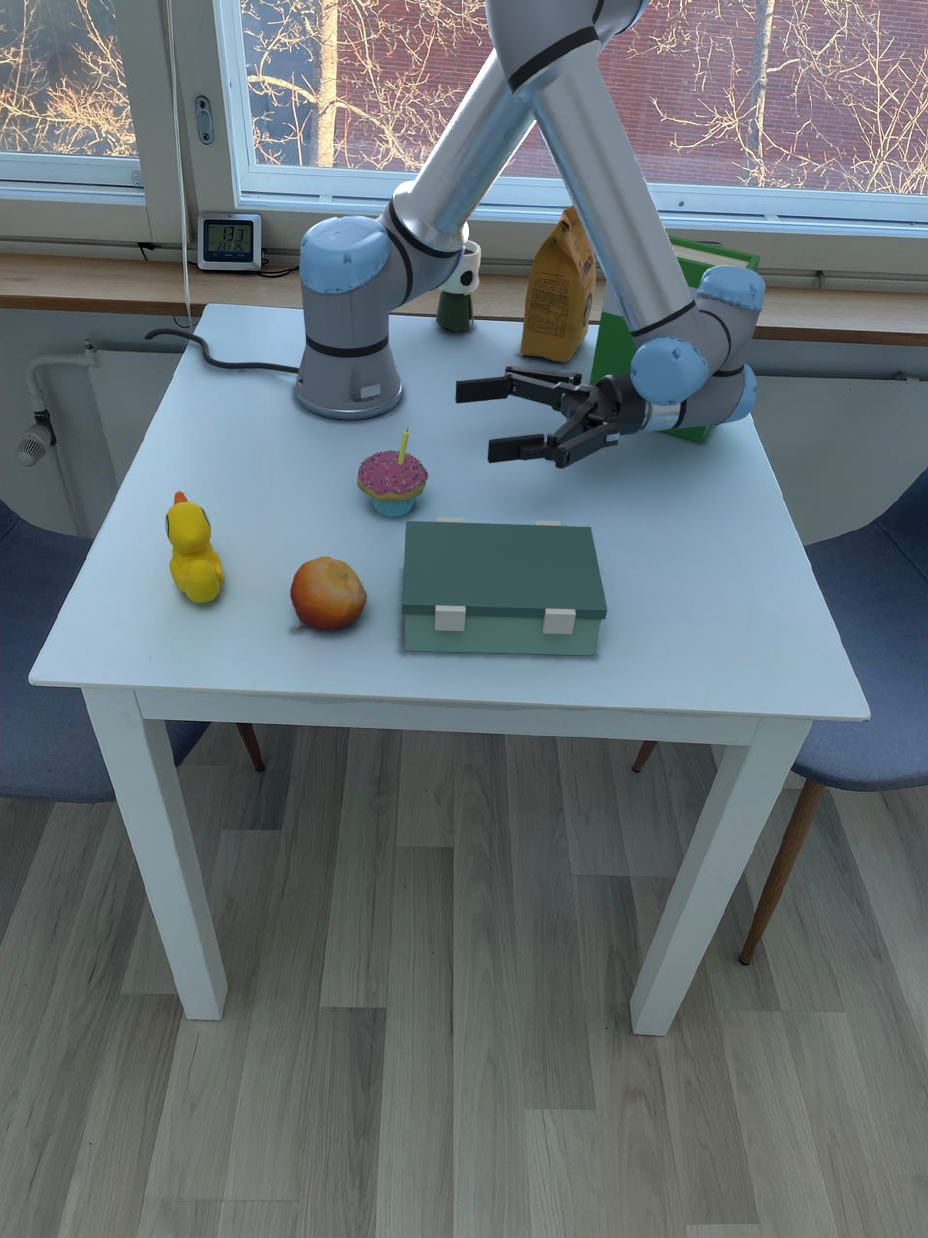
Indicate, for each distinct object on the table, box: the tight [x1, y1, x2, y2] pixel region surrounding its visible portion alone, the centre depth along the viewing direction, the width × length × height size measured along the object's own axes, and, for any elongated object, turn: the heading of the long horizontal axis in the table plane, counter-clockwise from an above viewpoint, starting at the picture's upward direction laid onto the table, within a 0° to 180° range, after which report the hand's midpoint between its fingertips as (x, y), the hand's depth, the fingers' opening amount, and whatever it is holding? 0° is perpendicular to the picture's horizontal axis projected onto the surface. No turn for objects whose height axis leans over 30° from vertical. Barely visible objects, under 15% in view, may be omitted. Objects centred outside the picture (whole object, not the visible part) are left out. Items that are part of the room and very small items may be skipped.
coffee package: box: [519, 204, 597, 363], centre depth 137 cm, size 10×12×22 cm
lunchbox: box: [401, 516, 608, 657], centre depth 96 cm, size 21×15×7 cm
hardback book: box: [588, 234, 762, 443], centre depth 122 cm, size 18×7×24 cm, turn 64°
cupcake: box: [356, 426, 429, 518], centre depth 107 cm, size 9×8×12 cm
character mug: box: [435, 239, 482, 332], centre depth 144 cm, size 11×7×13 cm, turn 148°
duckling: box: [164, 490, 225, 604], centre depth 95 cm, size 11×5×10 cm, turn 23°
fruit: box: [289, 556, 368, 632], centre depth 94 cm, size 8×8×8 cm
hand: (471, 420), depth 105 cm, fingers open, 13 cm apart
